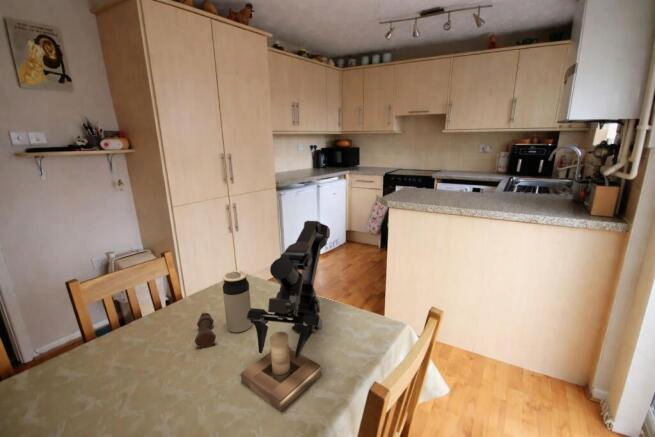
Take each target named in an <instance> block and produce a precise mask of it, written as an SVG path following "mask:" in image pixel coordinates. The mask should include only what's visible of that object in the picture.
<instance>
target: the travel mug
mask: <svg viewBox="0 0 655 437" xmlns="http://www.w3.org/2000/svg"><path fill="white" fill-rule="evenodd" d="M247 276H248V273H247V271H245V270H239V269H238V270H232V271H229V272H226V273H224V274H223V275H222V280H223V284H222V293H223V301H224V313H225V322H226V329H227V330H228V331H229V332H231V333H241V332H245V331H247V330H249V329H250V328H251V327H252V326H253V324H252V323H251V321H249V320H248V319H246V317H247V313H248V311H249V310H250V309H251V308H252V302H251V295H250V294H251V293H250V292H251V291H250V283H249V281H248V279H247Z"/></svg>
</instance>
